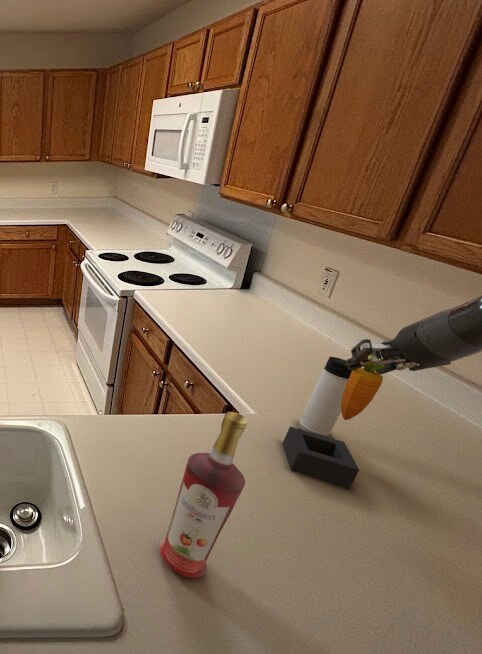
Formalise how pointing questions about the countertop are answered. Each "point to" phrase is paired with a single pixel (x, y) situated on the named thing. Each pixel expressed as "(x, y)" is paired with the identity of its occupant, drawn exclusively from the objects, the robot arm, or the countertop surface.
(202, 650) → the countertop surface
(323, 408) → the travel mug
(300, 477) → the countertop surface
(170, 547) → the liquor
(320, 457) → the socket pad
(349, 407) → the carrot
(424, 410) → the countertop surface
